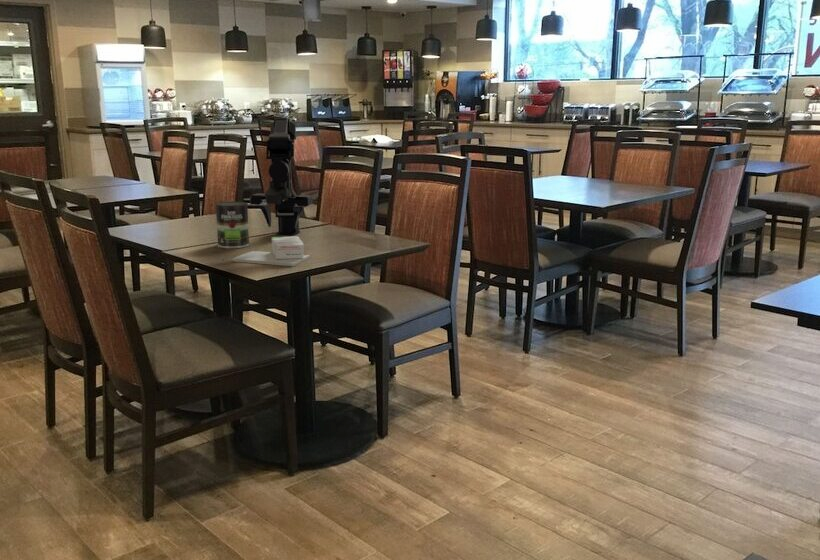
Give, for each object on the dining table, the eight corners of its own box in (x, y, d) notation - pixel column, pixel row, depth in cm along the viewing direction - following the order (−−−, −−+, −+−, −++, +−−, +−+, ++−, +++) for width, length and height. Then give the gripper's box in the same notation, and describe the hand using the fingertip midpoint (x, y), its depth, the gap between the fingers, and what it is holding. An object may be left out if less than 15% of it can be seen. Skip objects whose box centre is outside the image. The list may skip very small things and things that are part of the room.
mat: (232, 261, 223) (232, 258, 223) (252, 253, 235) (252, 250, 234) (292, 266, 218) (292, 263, 217) (310, 257, 229) (310, 255, 228)
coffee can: (249, 248, 242) (247, 205, 239) (217, 249, 240) (214, 206, 237) (249, 242, 252) (247, 200, 249) (218, 243, 250) (216, 201, 247)
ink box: (271, 252, 233) (276, 261, 219) (271, 236, 232) (275, 245, 218) (299, 251, 235) (305, 260, 221) (298, 235, 234) (305, 244, 220)
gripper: (241, 179, 222) (244, 230, 226) (301, 181, 219) (303, 232, 223) (255, 175, 233) (257, 224, 237) (312, 177, 230) (313, 226, 234)
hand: (282, 227), depth 232 cm, fingers open, 8 cm apart
